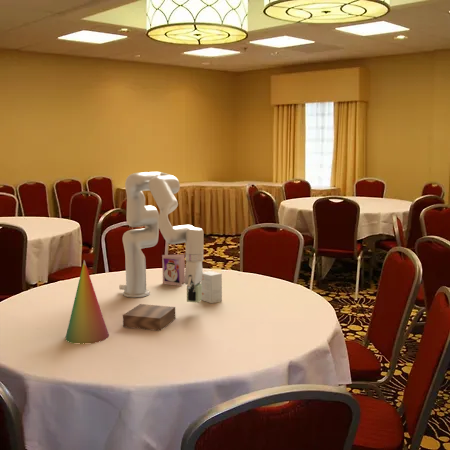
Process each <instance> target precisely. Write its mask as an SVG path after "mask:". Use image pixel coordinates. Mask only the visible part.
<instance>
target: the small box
mask: <svg viewBox="0 0 450 450" xmlns="http://www.w3.org/2000/svg"><path fill="white" fill-rule="evenodd" d="M202 272H203V274H202V280H201V283H200V284H202V300H201V301H204V302H207V303H210V304H216V303H219V302H222V301H223V289H222V288H223V287H222V285H223V281H222V280H223V278H222V273H220V272H218V271H217V272H216V271H213V270H209V271H202Z"/></svg>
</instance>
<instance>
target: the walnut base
mask: <svg viewBox="0 0 450 450" xmlns="http://www.w3.org/2000/svg"><path fill="white" fill-rule="evenodd" d="M175 319H176V306H169V305H168V306H167V305H157V304H144V303H139V304H138V305H136V306H135V307H133V308H131V309H130V310H128V311H127V312H125V313H124V314H122V326H123V328H129V329H140V330H151V331H157V332H158V331H160V332H161V331H162V330H163V329H164V328H166V327H167V326H168V325H169V324H171V323H172V322H174V320H175Z"/></svg>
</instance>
